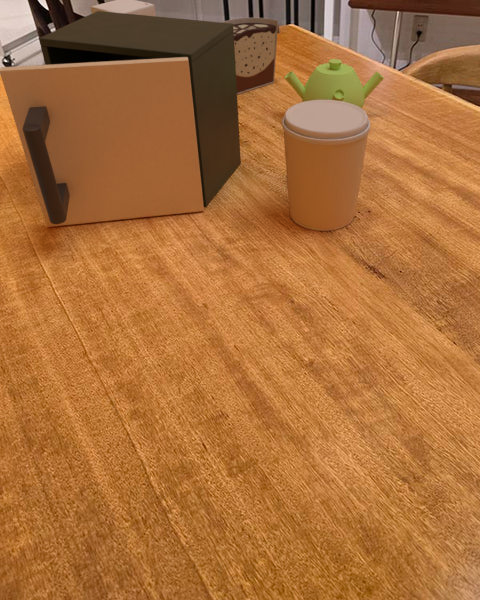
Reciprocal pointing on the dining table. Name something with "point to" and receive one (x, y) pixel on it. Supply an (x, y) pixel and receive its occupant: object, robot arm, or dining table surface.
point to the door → (108, 138)
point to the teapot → (334, 84)
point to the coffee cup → (324, 161)
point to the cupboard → (169, 44)
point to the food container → (254, 52)
